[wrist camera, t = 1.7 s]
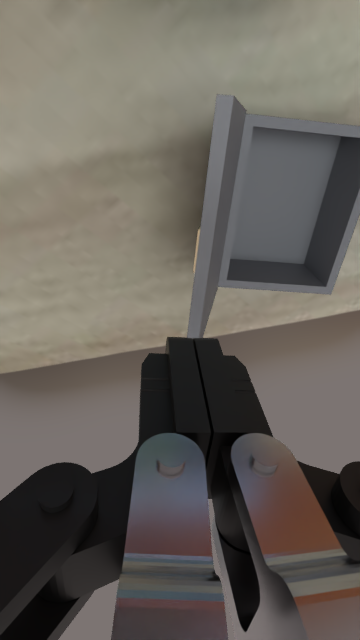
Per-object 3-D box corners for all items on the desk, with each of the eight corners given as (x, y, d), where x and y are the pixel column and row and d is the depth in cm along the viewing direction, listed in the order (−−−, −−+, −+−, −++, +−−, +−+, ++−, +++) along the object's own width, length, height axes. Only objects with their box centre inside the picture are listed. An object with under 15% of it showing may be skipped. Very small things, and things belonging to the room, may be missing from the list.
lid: (233, 95, 16) (214, 93, 16) (195, 360, 23) (182, 357, 24) (246, 110, 26) (234, 109, 26) (217, 288, 34) (208, 287, 34)
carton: (348, 128, 33) (389, 129, 27) (306, 269, 41) (331, 294, 35) (228, 114, 32) (243, 113, 26) (207, 261, 40) (215, 286, 34)
